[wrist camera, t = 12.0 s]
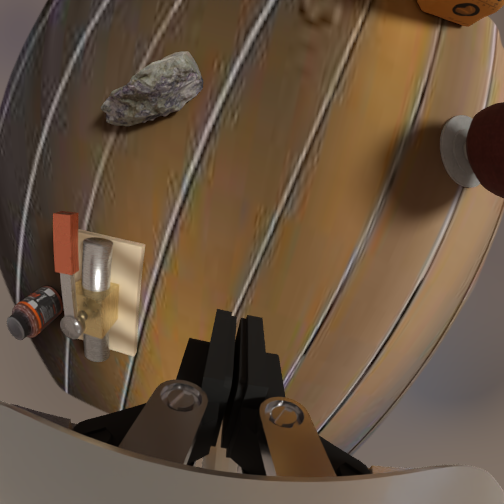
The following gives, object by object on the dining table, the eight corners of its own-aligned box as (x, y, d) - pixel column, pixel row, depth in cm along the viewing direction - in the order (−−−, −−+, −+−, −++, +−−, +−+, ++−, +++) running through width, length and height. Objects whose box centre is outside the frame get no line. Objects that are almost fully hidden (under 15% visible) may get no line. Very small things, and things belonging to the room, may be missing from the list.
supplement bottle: (50, 278, 43) (12, 304, 32) (69, 307, 44) (34, 338, 33) (34, 293, 44) (-3, 319, 33) (52, 320, 45) (19, 350, 34)
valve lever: (87, 335, 34) (81, 341, 32) (67, 330, 34) (61, 336, 32) (80, 213, 30) (72, 215, 28) (59, 211, 30) (51, 213, 28)
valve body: (117, 351, 45) (98, 381, 36) (87, 341, 44) (64, 368, 36) (122, 242, 40) (96, 259, 32) (87, 234, 39) (56, 248, 31)
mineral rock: (111, 127, 37) (77, 118, 27) (124, 60, 34) (95, 36, 25) (197, 131, 38) (181, 118, 28) (209, 59, 35) (198, 29, 25)
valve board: (136, 351, 46) (134, 356, 45) (76, 332, 45) (73, 336, 44) (145, 244, 42) (141, 246, 40) (76, 228, 41) (72, 230, 39)
